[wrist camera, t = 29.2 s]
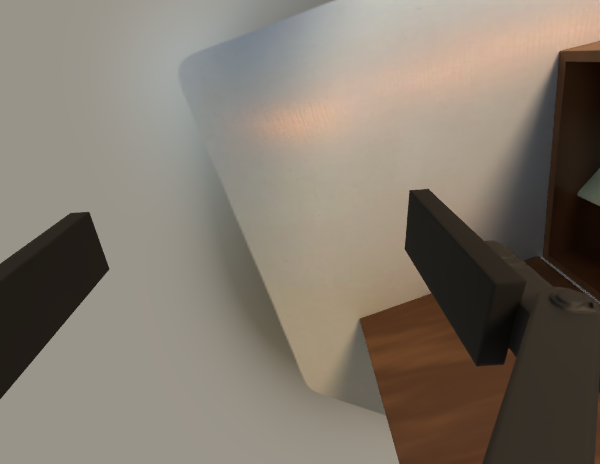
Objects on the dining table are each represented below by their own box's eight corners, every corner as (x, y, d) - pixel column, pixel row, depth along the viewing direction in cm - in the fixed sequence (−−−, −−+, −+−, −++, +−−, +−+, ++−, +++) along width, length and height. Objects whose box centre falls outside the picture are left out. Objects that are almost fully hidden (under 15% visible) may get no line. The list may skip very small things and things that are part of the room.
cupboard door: (542, 287, 60) (753, 478, 33) (371, 345, 64) (433, 555, 37) (538, 256, 57) (765, 436, 30) (359, 318, 61) (416, 524, 34)
